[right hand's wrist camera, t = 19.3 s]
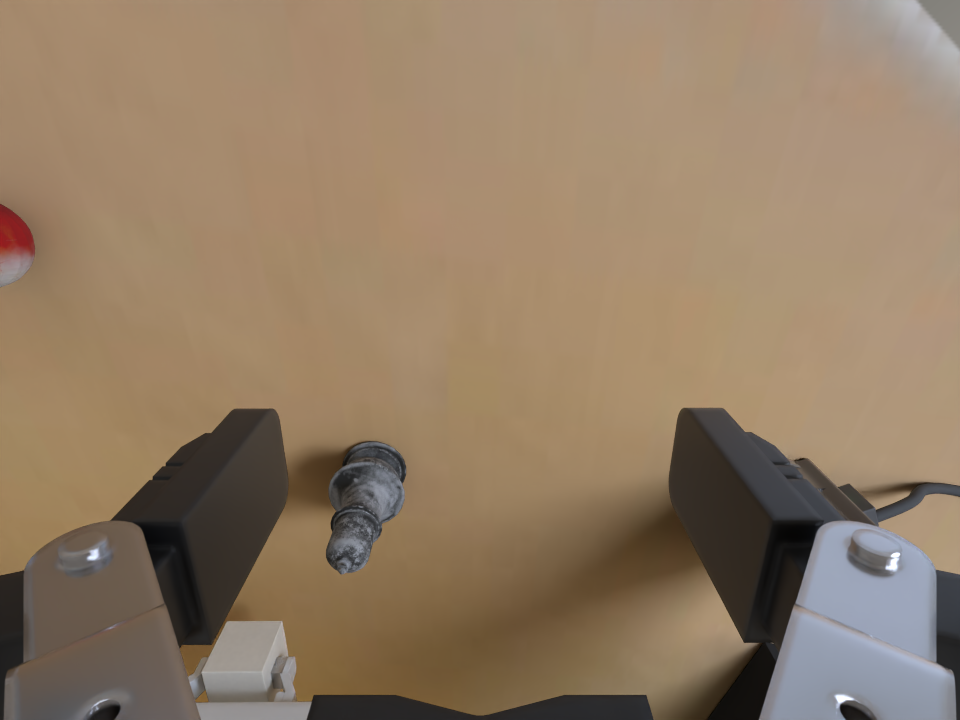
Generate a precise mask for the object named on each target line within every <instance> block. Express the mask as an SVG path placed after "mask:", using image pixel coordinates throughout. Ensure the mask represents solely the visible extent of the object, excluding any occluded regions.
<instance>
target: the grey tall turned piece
mask: <svg viewBox="0 0 960 720" xmlns="http://www.w3.org/2000/svg"><path fill="white" fill-rule="evenodd" d="M405 476H406V465H405V462H404V459H403V458H402V456H401V455H400V453H398V452H397V451H396V450H395V449H394V448H392V447H391V446H389V445H387V444H384V443H380V442H365V443H361V444H359V445H356V446H354V447H353V448H352V449H351V450H350V451H349V452H348V453H347V455H346V456H345V458H344V461H343V467H342V468H341V469H339V470H338V471H337V472H336V473H335V474H334V476H333V477H332V479H331V481H330V485H329V498H330V501H331V504H332V506H333V507H334V508H335V510H336V511H337V512H335V514H334V515H333V517H332V520H331V530H332V535H331V538H330V540H329V543H328V546H327V549H326V558H327V561H328V562H329V564H330V565H331V566H332V567H333V568H334V569H335V570H337V571H338V572H339V573H340V574H344V573H352V572H355V571H358V570H360V569H361V568H363V567H364V566H365V564H366V563H367V561H368V559H369V556H370V552H371V548H372V544H373V542H375V541H376V540H377V539H378V538H379V536H380V534H381V531H382V523H385V522H387V521H389V520H391V519H392V518H393V517H395V516H396V515H397V514H398V512H399V511H400V510H401V508H402V505H403V502H404V488H403V485H402V483H403V482H404V479H405Z"/></svg>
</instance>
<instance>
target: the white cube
mask: <svg viewBox="0 0 960 720" xmlns="http://www.w3.org/2000/svg"><path fill="white" fill-rule="evenodd" d="M277 657H289V656H288V650H287V645H286V639H285V633H284V627H283V622H282V621H227V622H226V624H225V626H224V628H223V630H222V632H221V634H220V636H219V638H218V640H217V642H216V644H215V646H214V648H213V650H212V652H211V654H210V656H209V658H208V660H207V662H206V664H205V666H204V668H203V669H202V671H201V674H202V678H203V682H204V686H205V689H206V693H207V697H208V701H209V702H274V699H275V697H276V694H277V693H278V692H280V690H281V689H274V688H273V683H272V682H273V680H272V678H271V671H272V668H273V665H274V664H275V660H276V658H277Z"/></svg>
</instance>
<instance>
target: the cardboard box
mask: <svg viewBox="0 0 960 720" xmlns="http://www.w3.org/2000/svg"><path fill="white" fill-rule="evenodd" d="M778 656H779V652H778V650H777V648H776V647H775V645H774V644H771V643H763V645H762V646H761V647H760V649H759V650H758V651H757V653H756V654H755V655H754V657H753V658H752V660H751V661H750V662H749V664H748V665H747V666H746V668H745V669H744V670H743V672H742V673H741V675H740V676H739V677H738V679H737V680H736V681H735V683H734V684H733V685H732V687H731V688H730V690H729V691H728V692H727V694H726V695H725V696H724V698H723V699H722V700H721V702H720V703H719V705H718V706H717V707H716V709H715V710H714V711H713V713H712V714H711V715H710V717H709V718H708V720H759V718H760V715H761V711H762V708H763V705H764V702H765V698H766V695H767V692H768V688H769V685H770V682H771V679H772V675H773V672H774V669H775V665H776V662H777V659H778Z"/></svg>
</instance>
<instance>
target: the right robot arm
mask: <svg viewBox="0 0 960 720" xmlns="http://www.w3.org/2000/svg"><path fill="white" fill-rule="evenodd" d="M669 493H670V498H671V502H672V505H673V507H674V510H675V511H676V513H677V515H678V517H679V519H680V521H681V523H682V525H683V527H684V529H685V531H686V532H687V534H688V536H689V538H690V540H691V542H692V544H693V546H694V548H695V550H696V552H697V554H698V555H699V557H700V559H701V561H702V563H703V565H704V567H705V569H706V571H707V573H708V575H709V576H710V578H711V580H712V582H713V584H714V586H715V588H716V590H717V592H718V594H719V596H720V598H721V599H722V601H723V603H724V605H725V607H726V609H727V611H728V613H729V615H730V617H731V619H732V620H733V622H734V624H735V626H736V628H737V630H738V632H739V634H740V636H741V638H742V640H743V642H744V643H774V645H775V647H776V648H777V650H778V652H779V656H778V659H777V662H776V665H775V669H774V672H773V675H772V679H771V682H770V685H769V688H768V692H767V695H766V698H765V702H764V705H763V708H762V711H761V715H760V718H759V720H960V575H959V574H954V573H949V572H944V571H939V570H936V569H935V567H934V565H933V563H932V562H931V560H930V559H929V558H928V556H927V555H925V554H924V553H923V552H922V551H921V550H920V549H919V548H918V547H916V546H915V545H914V544H912V543H911V542H909V541H907V540H906V539H904V538H902V537H900V536H899V535H897V534H894V533H892V532H890V531H888V530H885V529H882V528H880V527H879V526H878V522H881V521H883V520H886V519H888V518H891V517H894V516H896V515H899V514H901V513H903V512H906V511H908V510H910V509H912V508H913V507H915V506H916V505H918V504H919V503H920V502H921V501H922V500H923V498H924V496H925V495H928V494H948V495H954V496H959V497H960V486H956V485H950V484H941V483H929V484H921V485H918V486H917V487H916V488H914V489H913V490H912V492H911V493H910V495H909V496H908V497H906V498H904V499H902V500H900V501H898V502H895V503H893V504H890V505H888V506H885V507H883V508H880V509H877V510H875V507H873V506H872V505H871V504H870V503H869V502H868V501H867V500H866V499H865V498H864V497H863V496H862V495H861V494H860V493H859V492H857V491H856V490H855V489H854V488H853V487H852V486H851V485H850V484H846V485H843V486H840V487H837V486H836V485H835V484H834V483H833V482H832V481H831V480H830V479H829V478H828V477H827V476H826V475H825V474H824V473H823V472H822V471H820V470H819V469H818V468H817V467H816V466H815V465H814V464H813V463H812V462H811V461H810V460H809V459H803V460H800V461H792V460H789V459H787V458H786V457H785V456H784V455H783V454H782V453H781V452H780V451H779V450H778V449H777V448H776V447H775V446H774V445H772V444H771V443H769V442H767V441H765V440H764V439H762V438H760V437H759V436H757V435H755V434H753V433H752V432H744V430H743V429H742V428H741V427H740V426H739V425H738V424H737V423H736V422H735V420H734V419H733V418H732V417H731V416H730V415H729V414H728V413H727V412H726V410H724V409H723V408H683V409H682V410H681V411H680V413H679V415H678V419H677V425H676V432H675V438H674V445H673V452H672V459H671V466H670V472H669ZM287 494H288V473H287V466H286V459H285V453H284V446H283V439H282V433H281V426H280V420H279V416H278V414H277V412H276V411H275V410H274V409H234V410H232V411H231V412H230V413H229V414H228V415H227V416H226V417H225V419H224V420H223V421H222V422H221V423H220V424H219V425H218V426H217V427H216V428H215V430H214V431H213V432H212V433H205V434H203V435H201V436H200V437H198V438H196V439H194V440H193V441H191V442H189V443H187V444H186V445H184V446H182V447H181V448H180V449H179V450H178V451H177V452H176V453H175V454H174V455H173V456H172V457H171V458H170V459H169V460H168V461H167V462H166V466H163V467H162V468H161V469H160V470H159V471H158V472H157V473H156V474H155V475H154V476H153V480H149V481H148V482H147V483H146V484H145V485H144V486H143V487H142V488H141V489H140V490H139V491H138V492H137V494H136V495H135V496H134V497H133V498H132V499H131V500H130V501H129V502H128V503H127V504H126V505H125V506H124V507H123V508H122V509H121V510H120V511H119V512H118V513H117V514H116V515H115V516H114V517H113V518H112V519H111V520H110V521H105V522H99V523H94V524H90V525H87V526H83V527H80V528H78V529H75V530H72V531H70V532H68V533H66V534H63V535H61V536H60V537H58V538H56V539H54V540H53V541H51V542H49V543H48V544H46V545H45V546H44V547H42V548H41V549H40V550H39V551H38V552H37V553H36V554H35V555H33V556H32V558H31V559H30V560H29V562H28V563H27V565H26V567H25V569H24V571H20V572H15V573H10V574H5V575H0V720H201V718H200V715H199V711H198V708H197V705H196V702H195V698H194V695H193V692H192V688H191V685H190V682H189V679H188V675H187V672H186V669H185V665H184V662H183V659H182V656H181V652H180V648H181V646H182V645H212V643H213V641H214V639H215V637H216V635H217V634H218V632H219V630H220V628H221V626H222V624H223V622H224V620H225V618H226V617H227V615H228V613H229V611H230V609H231V607H232V605H233V603H234V601H235V600H236V598H237V596H238V594H239V592H240V590H241V588H242V586H243V584H244V583H245V581H246V579H247V577H248V575H249V573H250V571H251V569H252V567H253V565H254V564H255V562H256V560H257V558H258V556H259V554H260V552H261V550H262V548H263V547H264V545H265V543H266V541H267V539H268V537H269V535H270V533H271V531H272V530H273V528H274V526H275V524H276V522H277V520H278V518H279V516H280V514H281V513H282V511H283V509H284V506H285V503H286V500H287ZM307 720H653V716H652V713H651V710H650V706H649V703H648V699H647V696H646V695H563V696H559V697H555V698H551V699H547V700H544V701H540V702H536V703H532V704H528V705H524V706H520V707H517V708H513V709H509V710H505V711H501V712H497V713H493V714H489V715H484V716H476V715H471V714H467V713H463V712H459V711H455V710H451V709H447V708H443V707H440V706H436V705H432V704H428V703H424V702H420V701H416V700H413V699H409V698H405V697H401V696H397V695H314V696H313V699H312V703H311V706H310V710H309V713H308V716H307Z"/></svg>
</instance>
